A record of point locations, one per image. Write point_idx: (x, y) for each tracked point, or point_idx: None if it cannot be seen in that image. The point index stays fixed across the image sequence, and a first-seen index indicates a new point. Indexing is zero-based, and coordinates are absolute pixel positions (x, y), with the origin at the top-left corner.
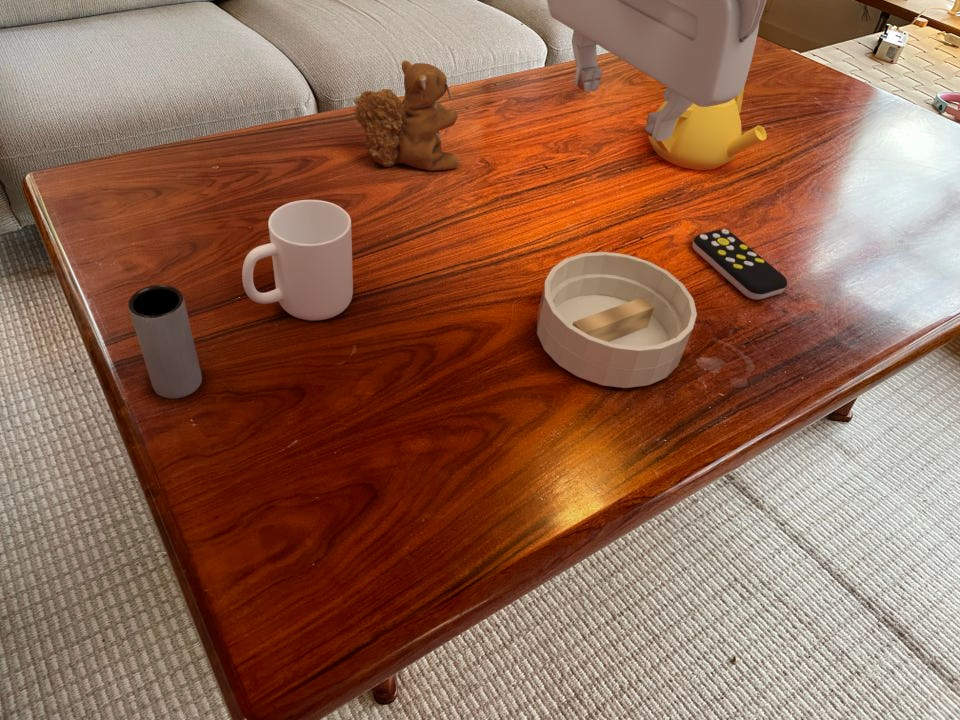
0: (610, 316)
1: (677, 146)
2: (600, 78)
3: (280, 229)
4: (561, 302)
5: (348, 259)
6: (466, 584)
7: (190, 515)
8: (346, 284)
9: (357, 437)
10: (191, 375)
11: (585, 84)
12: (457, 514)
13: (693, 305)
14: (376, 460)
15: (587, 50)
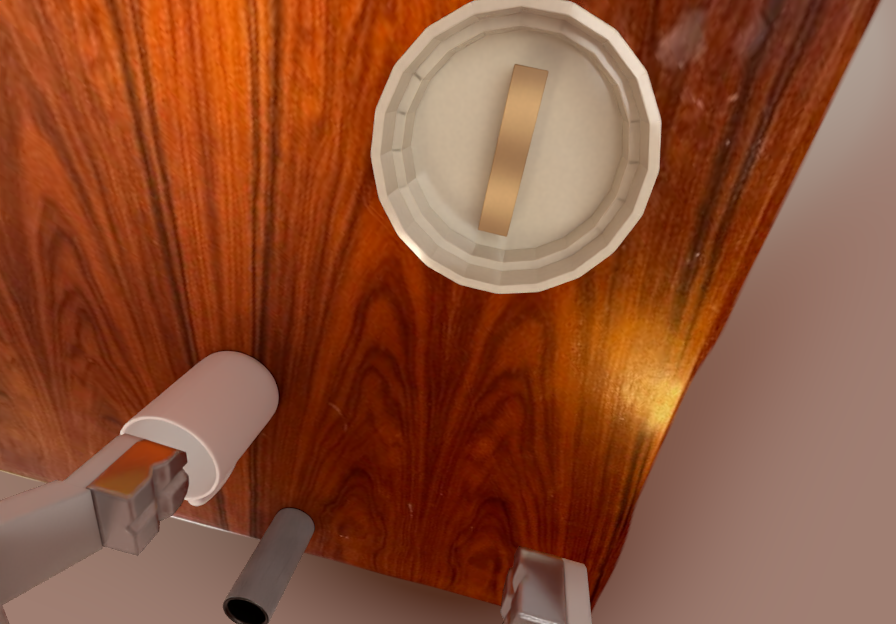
0: (509, 168)
1: None
2: (152, 474)
3: None
4: (412, 155)
5: (231, 413)
6: (625, 514)
7: (425, 579)
8: (254, 398)
9: (439, 474)
10: (304, 537)
11: (168, 514)
12: (570, 476)
13: (627, 52)
14: (472, 480)
15: (12, 561)
